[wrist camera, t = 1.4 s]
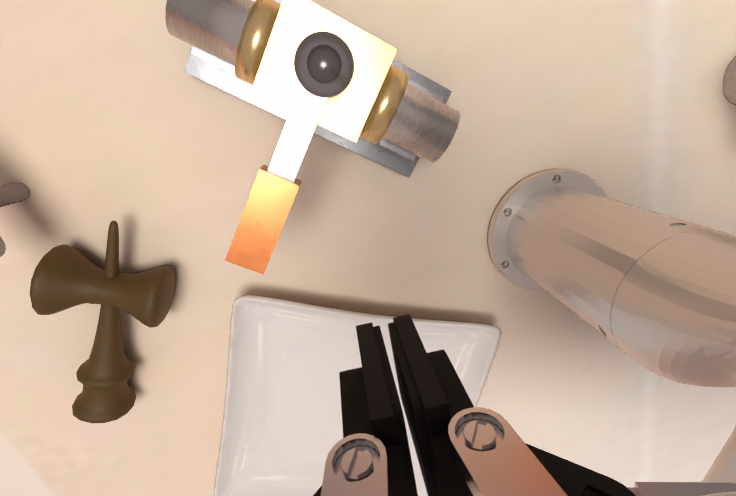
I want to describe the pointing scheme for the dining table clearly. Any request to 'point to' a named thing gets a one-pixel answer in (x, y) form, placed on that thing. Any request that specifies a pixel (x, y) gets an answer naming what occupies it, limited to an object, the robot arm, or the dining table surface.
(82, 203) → the dining table surface
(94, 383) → the kendama
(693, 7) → the dining table surface
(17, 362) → the dining table surface
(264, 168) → the lever
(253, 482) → the square plate
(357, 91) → the ball valve
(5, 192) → the mechanical component
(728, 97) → the house plant
